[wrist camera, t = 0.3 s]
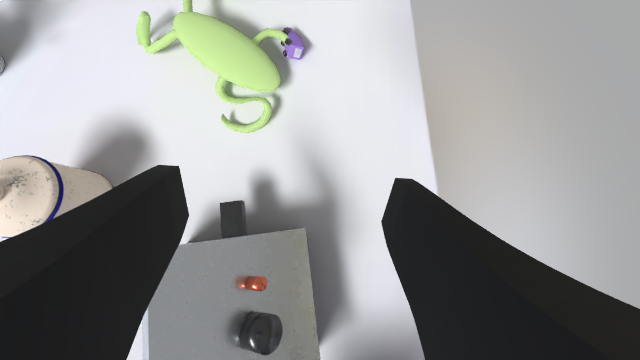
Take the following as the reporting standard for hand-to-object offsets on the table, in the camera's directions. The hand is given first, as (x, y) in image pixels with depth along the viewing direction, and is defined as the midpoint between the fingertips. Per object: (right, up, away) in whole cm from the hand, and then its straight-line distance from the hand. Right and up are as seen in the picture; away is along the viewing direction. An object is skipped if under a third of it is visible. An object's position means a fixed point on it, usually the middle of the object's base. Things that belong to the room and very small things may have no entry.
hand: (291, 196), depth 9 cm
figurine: (-14, +21, +33) cm, 42 cm away
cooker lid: (-6, -13, +15) cm, 20 cm away
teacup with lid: (-32, -4, +28) cm, 43 cm away
